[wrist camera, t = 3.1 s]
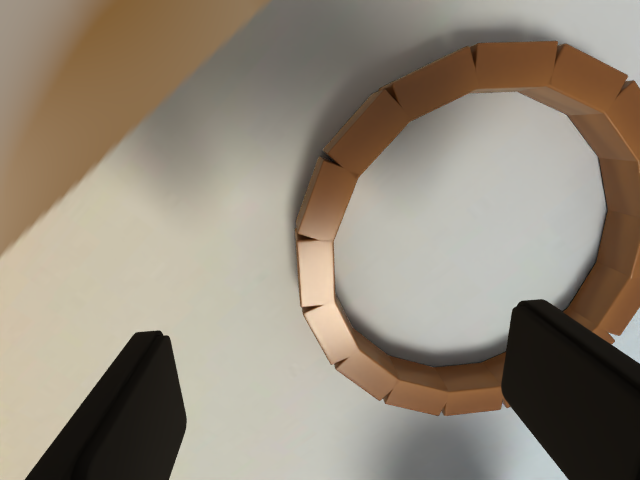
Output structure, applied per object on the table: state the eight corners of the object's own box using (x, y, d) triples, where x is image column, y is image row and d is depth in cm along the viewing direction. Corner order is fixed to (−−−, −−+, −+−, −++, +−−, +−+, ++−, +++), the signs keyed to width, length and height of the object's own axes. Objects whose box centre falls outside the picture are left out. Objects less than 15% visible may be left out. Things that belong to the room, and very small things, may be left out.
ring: (220, 264, 17) (212, 282, 15) (499, -51, 14) (533, -80, 12) (450, 434, 21) (466, 464, 20) (692, 229, 19) (738, 241, 17)
